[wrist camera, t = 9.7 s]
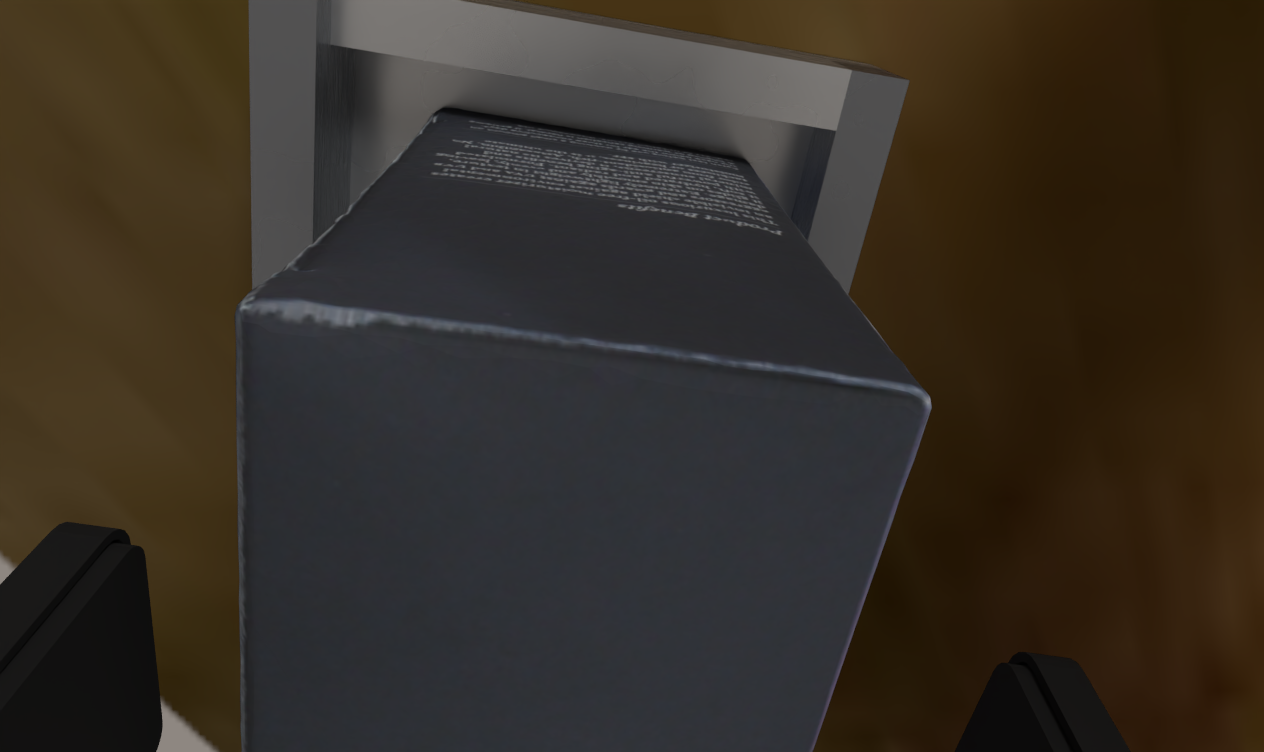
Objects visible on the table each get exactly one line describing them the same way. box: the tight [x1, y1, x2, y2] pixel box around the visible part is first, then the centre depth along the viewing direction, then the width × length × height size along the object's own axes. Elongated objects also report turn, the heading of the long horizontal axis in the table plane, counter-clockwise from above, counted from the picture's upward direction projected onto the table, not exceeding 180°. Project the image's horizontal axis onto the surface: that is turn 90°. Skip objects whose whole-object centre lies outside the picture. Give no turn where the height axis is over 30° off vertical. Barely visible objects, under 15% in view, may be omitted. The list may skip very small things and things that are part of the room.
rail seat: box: [249, 0, 910, 294], centre depth 18 cm, size 10×14×3 cm
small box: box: [235, 108, 932, 752], centre depth 14 cm, size 11×6×10 cm, turn 171°
